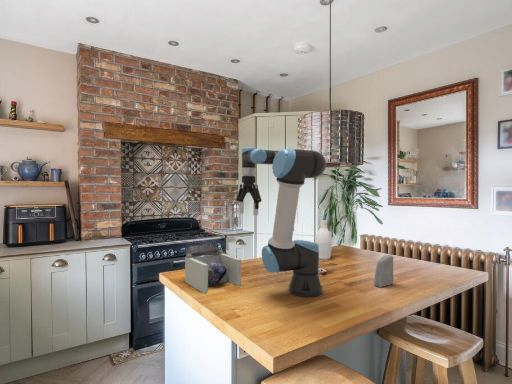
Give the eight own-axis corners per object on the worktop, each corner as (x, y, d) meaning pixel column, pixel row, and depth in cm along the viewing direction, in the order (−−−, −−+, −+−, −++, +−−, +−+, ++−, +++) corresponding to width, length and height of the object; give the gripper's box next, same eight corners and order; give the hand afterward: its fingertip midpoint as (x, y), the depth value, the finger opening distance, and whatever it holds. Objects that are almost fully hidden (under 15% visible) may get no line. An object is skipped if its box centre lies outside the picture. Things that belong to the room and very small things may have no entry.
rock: (219, 288, 148) (221, 270, 144) (200, 282, 151) (201, 264, 148) (229, 277, 157) (231, 260, 154) (211, 271, 160) (212, 254, 157)
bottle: (333, 257, 214) (334, 220, 214) (328, 260, 205) (329, 221, 204) (318, 255, 220) (318, 219, 220) (312, 258, 211) (312, 220, 210)
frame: (240, 284, 152) (240, 256, 152) (203, 293, 140) (204, 262, 140) (219, 275, 168) (219, 249, 168) (185, 282, 156) (185, 254, 156)
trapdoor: (224, 285, 160) (230, 279, 155) (197, 291, 150) (202, 285, 146) (211, 250, 170) (216, 243, 166) (185, 253, 161) (189, 246, 157)
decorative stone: (381, 288, 148) (382, 257, 148) (371, 285, 153) (371, 255, 153) (395, 285, 154) (395, 254, 154) (384, 281, 159) (384, 252, 159)
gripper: (268, 175, 165) (267, 215, 165) (241, 176, 184) (241, 212, 185) (256, 175, 160) (256, 216, 160) (230, 176, 180) (230, 212, 180)
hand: (248, 214), depth 173 cm, fingers open, 13 cm apart
